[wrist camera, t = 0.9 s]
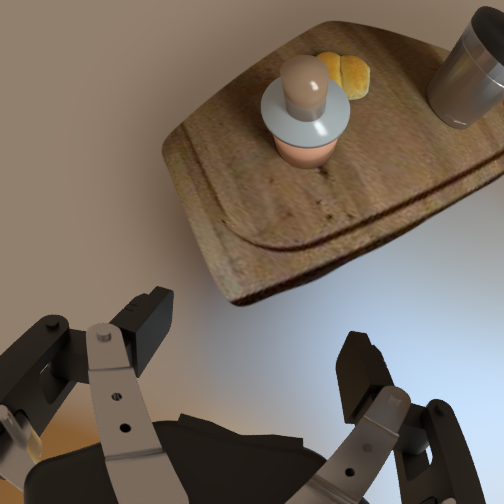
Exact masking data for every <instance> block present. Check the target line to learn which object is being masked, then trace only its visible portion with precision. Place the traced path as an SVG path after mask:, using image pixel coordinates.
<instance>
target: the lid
mask: <svg viewBox="0 0 504 504" xmlns="http://www.w3.org/2000/svg"><path fill="white" fill-rule="evenodd" d="M280 75H281V77H279V78H277V79H276V80H274V81H273V82H272V83H271V84H270V85H269V86H268V87H267V89H266V90H265V92H264V94H263V96H262V100H261V113H262V116H263V120H264V123H265V125H266V127H267V128H268V130H269V131H270V132H271V133H272V134H273V135H274V136H275V137H276V138H277V139H278V140H280V141H282V142H283V143H285V144H287V145H290V146H293V147H297V148H304V149H311V148H318V147H322V146H325V145H328V144H330V143H332V142H333V141H335V140H336V139H337V138H338V137H339V136H340V135H341V134H342V133H343V132H344V130H345V128H346V126H347V123H348V120H349V116H350V104H349V101H348V98H347V96H346V94H345V92H344V91H343V89H342V88H341V87H340V86H339V85H338V84H337V83H336V82H335V81H333V80H332V79H330V78H329V69H328V67H327V65H326V64H325V63H324V62H323V61H322V60H320V59H319V58H317V57H314V56H311V55H296V56H293V57H290V58H289V59H287V60H286V61H285V62H284V63H283V64H282V66H281V69H280Z"/></svg>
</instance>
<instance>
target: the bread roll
mask: <svg viewBox="0 0 504 504" xmlns="http://www.w3.org/2000/svg"><path fill="white" fill-rule="evenodd" d="M316 57H317V58H319V59H320V60H322V61H323V62H324V63H325V64H326V65H327V67H328V69H329V78H330V79H332V80H333V81H335V82H336V83H337V84H338V85H339V86H340V87H341V88H342V89H343V91H344V92H345V94H346V96H347V98H348V100H356V99H360V98H362V97H364V96H365V95H366V94H367V93H368V90H369V81H370V77H369V76H370V68H369V67H368V66H367V64H366V63H365V62H364V61H363V60H361V59H360V58H358V57H356V56H354V55H346V56H339V55H338V54H336V53H334V52H323V53H320V54H318V55H317V56H316Z"/></svg>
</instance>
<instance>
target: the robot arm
mask: <svg viewBox="0 0 504 504" xmlns="http://www.w3.org/2000/svg"><path fill="white" fill-rule="evenodd" d="M427 98H428V101H429V104H430V105H431V107H432V109H433V110H434V112H435V113H436V114H437V116H438V117H439V118H440V119H441V120H443V121H444V122H445V123H447V124H448V125H450V126H452V127H454V128H458V129H465V128H468V127H469V126H471V125H472V124H473V123H474V122H476V121H477V120H478V119H480V118H481V117H482V116H484V115H485V114H486V113H487V112H488V111H490V110H491V109H492V108H493V107H495V106H496V105H497V104H498V103H500V102H501V101H502V100H503V99H504V13H503V12H501V11H500V10H497V9H495V8H492V7H488V6H483V7H480V8H479V9H478V10H477V11H476V12H475V14H474V16H473V17H472V19H471V21H470V22H469V24H468V26H467V27H466V29H465V30H464V32H463V34H462V35H461V37H460V39H459V40H458V41H457V43H456V44H455V46H454V48H453V49H452V51H451V52H450V54H449V55H448V57H447V58H446V60H445V61H444V63H443V64H442V66H441V67H440V69H439V70H438V71H437V73H436V74H435V76H434V77H433V79H432V80H431V81H430V83H429V84H428V87H427ZM173 299H174V292H173V291H172V290H169V289H166V288H162V287H159V286H157V287H156V288H155V289H154V290H153V291H152V292H151V293H150V294H149V295H148V294H145V293H144V294H141V295H139V296H137V297H135V298H134V299H133V300H132V301H130V302H129V304H128V305H126V306H125V308H124V309H122V310H121V311H120V312H119V313H118V314H117V315H116V316H115V317H114V318H113V319H112V320H111V321H110V322H109V323H99V324H95V325H93V326H91V327H90V328H89V329H88V330H87V331H80V330H74V329H69V323H68V321H67V319H66V318H64V317H63V316H60V315H48V316H45V317H43V318H41V319H40V320H39V321H38V322H36V323H35V324H34V325H33V326H32V327H31V328H30V329H28V330H27V331H26V332H25V333H24V334H23V335H22V336H21V337H20V338H19V339H17V340H16V341H15V342H14V343H13V344H12V345H11V346H10V347H9V348H8V349H7V350H6V351H5V352H4V353H3V354H2V355H1V356H0V479H3V480H7V481H8V482H10V483H11V484H12V485H14V486H15V487H16V488H18V489H19V490H20V491H22V492H23V493H24V504H369V502H368V501H366V500H365V499H364V498H363V496H364V494H365V493H366V491H367V490H368V488H369V487H370V486H371V484H372V482H373V481H374V479H375V478H376V476H377V474H378V473H379V471H380V470H381V468H382V466H383V465H384V463H385V461H386V460H387V458H388V456H389V454H390V452H391V451H392V450H393V451H394V456H395V462H396V468H397V474H398V480H399V487H400V494H401V502H402V504H486V502H485V499H484V495H483V491H482V488H481V484H480V481H479V478H478V475H477V471H476V469H475V466H474V463H473V460H472V457H471V454H470V451H469V448H468V446H467V443H466V441H465V438H464V435H463V433H462V430H461V428H460V425H459V423H458V421H457V418H456V416H455V414H454V411H453V409H452V408H451V406H450V405H449V404H448V403H446V402H445V401H443V400H439V399H433V400H431V401H430V402H429V403H428V404H427V406H426V407H423V406H420V405H416V404H413V403H411V399H410V397H409V395H408V394H407V393H406V392H405V391H404V390H402V389H401V388H399V387H396V386H395V385H394V383H393V380H392V378H391V375H390V373H389V370H388V368H387V365H386V363H385V362H384V358H383V356H382V353H381V352H380V351H379V350H378V349H377V348H376V346H375V345H371V342H370V340H369V338H368V335H367V334H366V333H361V332H355V331H350V332H349V334H348V336H347V338H346V340H345V343H344V345H343V347H342V349H341V351H340V354H339V355H338V358H337V361H336V374H337V380H338V386H339V391H340V397H341V402H342V409H343V415H344V421H345V423H346V424H355V428H354V429H353V430H352V432H351V433H350V434H349V436H348V437H347V438H346V439H345V440H344V442H343V443H342V444H341V445H340V447H339V448H338V449H337V450H336V451H335V453H334V454H333V455H332V456H331V457H330V458H329V459H328V460H326V459H325V458H324V457H323V456H321V455H320V454H318V453H316V452H314V451H312V450H310V449H308V448H305V447H303V438H296V437H288V436H281V435H240V434H237V433H235V432H232V431H230V430H228V429H226V428H223V427H221V426H219V425H217V424H215V423H213V422H210V421H207V420H203V419H199V418H195V417H191V416H189V415H185V414H182V413H181V414H180V417H179V419H178V421H156V422H151V419H150V417H149V414H148V411H147V408H146V406H145V403H144V400H143V397H142V394H141V391H140V388H139V385H138V382H137V379H136V377H137V378H139V377H140V375H141V374H142V372H143V370H144V369H145V367H146V366H147V364H148V363H149V361H150V359H151V358H152V356H153V355H154V353H155V352H156V350H157V349H158V347H159V346H160V344H161V342H162V341H163V339H164V338H165V336H166V335H167V333H168V332H169V329H170V327H171V322H172V311H173ZM47 364H48V366H47V367H46V368H45V366H46V365H47ZM44 368H45V369H44ZM43 369H44V370H43ZM42 370H43V371H42ZM41 371H42V372H41ZM40 373H41V374H40ZM77 382H80V383H86V384H90V389H91V396H92V402H93V408H94V413H95V418H96V423H97V428H98V432H99V436H100V440H101V442H99V443H96V444H93V445H91V446H87V447H85V448H82V449H79V450H76V451H72V452H69V453H66V454H63V455H59V456H56V457H52V458H49V459H46V460H43V461H41V462H39V460H40V455H41V452H42V443H41V440H40V438H39V437H40V436H41V434H42V433H43V431H44V430H45V428H46V427H47V425H48V424H49V422H50V421H51V419H52V418H53V416H54V415H55V413H56V412H57V410H58V409H59V407H60V406H61V404H62V403H63V402H64V400H65V399H66V397H67V396H68V394H69V393H70V392H71V390H72V389H73V387H74V386H75V385H76V383H77ZM429 445H430V448H431V452H432V456H433V458H432V462H431V464H430V465H429V460H428V457H427V453H426V448H427V447H428V446H429Z"/></svg>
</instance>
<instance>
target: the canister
mask: <svg viewBox="0 0 504 504" xmlns="http://www.w3.org/2000/svg"><path fill="white" fill-rule="evenodd" d="M273 137H274V140H275V144H276V147H277V150H278V152H279V154H280V156H281V157H282V158H283V159H284V160H285V161H286V162H287V163H289V164H290V165H292V166H294V167H297V168H302V169H312V168H317V167H319V166H321V165H323V164H325V163H326V162H327V161H328V160H329V159H330V158H331V157H332V155H333V153H334V150H335V147H336V144H337V140H338V138H337V139H336V140H335V141H333V142H332V143H330V144H328V145H325V146H322V147H318V148H311V149H304V148H297V147H293V146H290V145H287V144H285V143H283V142H282V141H280V140H278V139H277V138H276V137H275V136H274V135H273Z"/></svg>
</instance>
